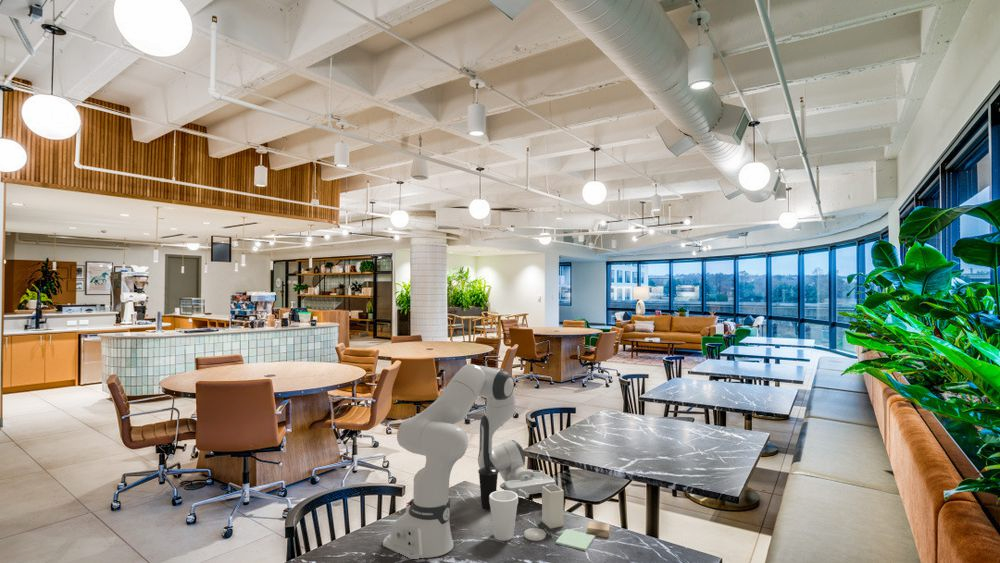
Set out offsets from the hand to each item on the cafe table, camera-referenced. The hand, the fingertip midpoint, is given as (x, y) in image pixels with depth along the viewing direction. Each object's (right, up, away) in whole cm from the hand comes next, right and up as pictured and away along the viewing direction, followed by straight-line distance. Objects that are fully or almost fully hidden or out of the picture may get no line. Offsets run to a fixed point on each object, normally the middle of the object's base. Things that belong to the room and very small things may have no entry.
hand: (538, 493), depth 183 cm
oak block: (+19, -6, -16) cm, 26 cm away
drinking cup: (-19, -7, +3) cm, 20 cm away
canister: (+4, -6, -10) cm, 12 cm away
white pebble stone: (-3, -6, -19) cm, 20 cm away
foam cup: (-13, -6, -19) cm, 24 cm away
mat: (+10, -6, -22) cm, 25 cm away
